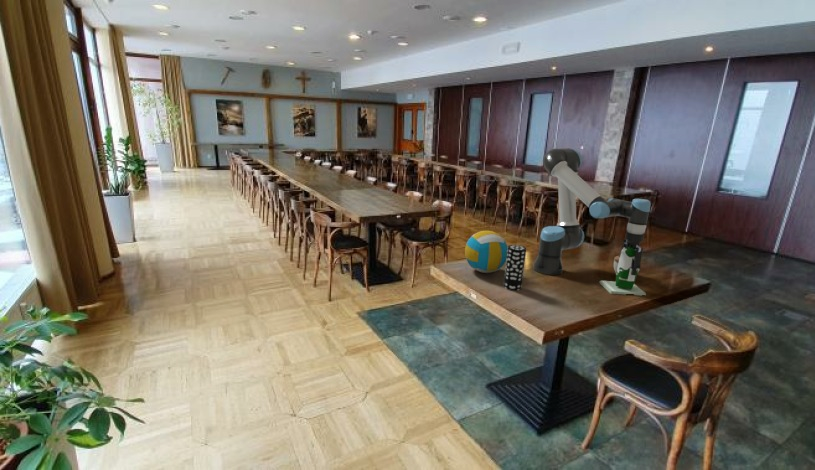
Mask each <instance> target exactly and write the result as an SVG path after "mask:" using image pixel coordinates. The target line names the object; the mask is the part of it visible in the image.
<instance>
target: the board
mask: <svg viewBox="0 0 815 470" xmlns="http://www.w3.org/2000/svg"><path fill="white" fill-rule="evenodd" d="M599 284H600V285H601V286H602V287H603V288H604V289H605V290H606V291H607V292H608V293H609V294H612V295H613V294H614V295H626V294H634V295H633V296H642V295H645V296H646V295H647V294H646V292H645V291H644V290H642V288H640V287H639V286H638V285H637V284H635V283H634V285H633V288H632V290H631V289H627V288H622V287H618V286H616V281H611V280H610V281H609V280H599Z"/></svg>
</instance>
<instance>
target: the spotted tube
mask: <svg viewBox="0 0 815 470" xmlns="http://www.w3.org/2000/svg"><path fill="white" fill-rule="evenodd" d="M507 247H508V251H507V260H506V262H505V270H504V276H503V277H504V278H503V288H504V289H506V290H508V291H512V292H513V291H521V290H522V285H523V280H524V279H523V277H524V270H525V264H526V263H525V262H526V254H527V247H525V246H523V245H519V244H509V245H507Z"/></svg>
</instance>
